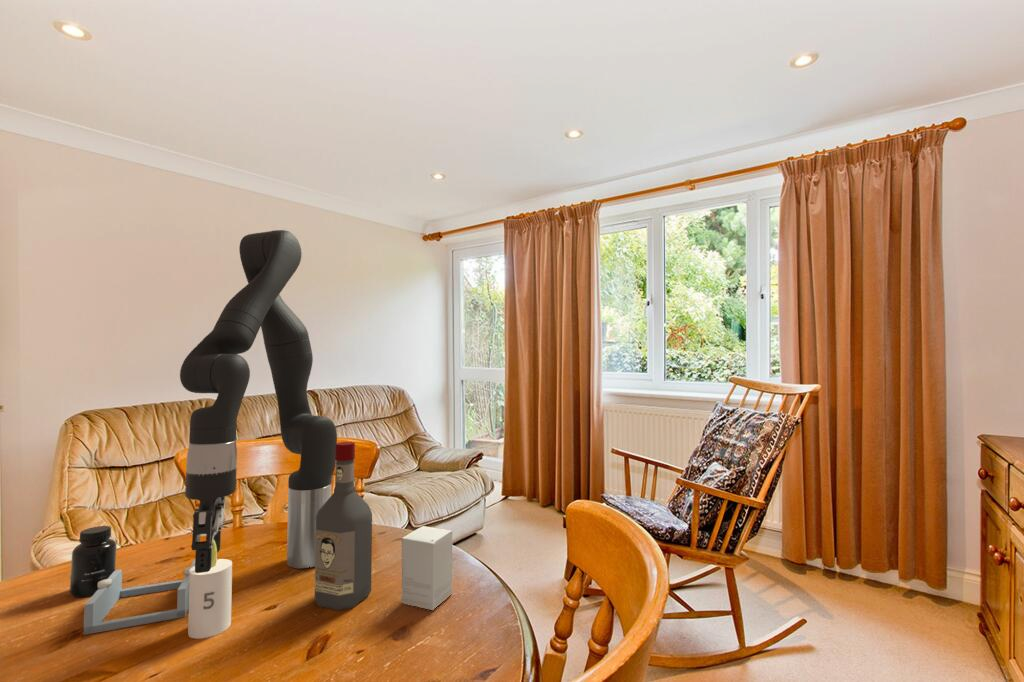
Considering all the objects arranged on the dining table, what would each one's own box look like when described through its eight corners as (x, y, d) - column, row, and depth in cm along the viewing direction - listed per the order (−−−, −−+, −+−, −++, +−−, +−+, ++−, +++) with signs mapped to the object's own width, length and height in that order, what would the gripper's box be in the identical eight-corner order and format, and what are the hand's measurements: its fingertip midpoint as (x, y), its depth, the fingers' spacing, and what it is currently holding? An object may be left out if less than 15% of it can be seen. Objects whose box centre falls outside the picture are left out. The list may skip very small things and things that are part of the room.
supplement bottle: (88, 600, 92) (90, 537, 93) (60, 596, 94) (62, 534, 94) (124, 583, 99) (125, 525, 99) (97, 580, 100) (99, 522, 101)
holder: (202, 582, 100) (203, 554, 100) (187, 616, 87) (188, 583, 87) (111, 596, 93) (112, 566, 94) (80, 635, 81) (81, 600, 81)
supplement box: (453, 594, 95) (454, 530, 95) (432, 612, 88) (432, 543, 88) (422, 587, 98) (423, 524, 98) (399, 604, 91) (400, 537, 92)
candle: (185, 643, 79) (187, 550, 79) (190, 623, 84) (192, 537, 85) (229, 633, 81) (231, 544, 82) (232, 614, 87) (233, 531, 88)
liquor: (339, 583, 99) (341, 438, 100) (377, 590, 96) (378, 441, 97) (307, 605, 91) (309, 445, 92) (347, 613, 88) (349, 449, 89)
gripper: (230, 474, 79) (226, 575, 78) (241, 458, 92) (238, 544, 91) (175, 478, 76) (171, 582, 75) (195, 461, 89) (192, 549, 88)
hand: (208, 561), depth 83 cm, fingers open, 8 cm apart
